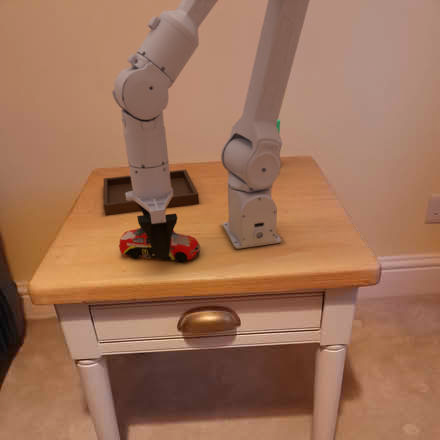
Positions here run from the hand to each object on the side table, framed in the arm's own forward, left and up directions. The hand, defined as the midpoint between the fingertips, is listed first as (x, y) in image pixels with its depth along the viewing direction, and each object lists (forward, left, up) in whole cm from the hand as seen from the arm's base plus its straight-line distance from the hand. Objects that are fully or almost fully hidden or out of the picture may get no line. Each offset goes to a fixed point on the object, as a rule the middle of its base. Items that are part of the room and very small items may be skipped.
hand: (159, 245), depth 68 cm
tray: (+26, -1, -1) cm, 26 cm away
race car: (0, 0, -2) cm, 2 cm away
